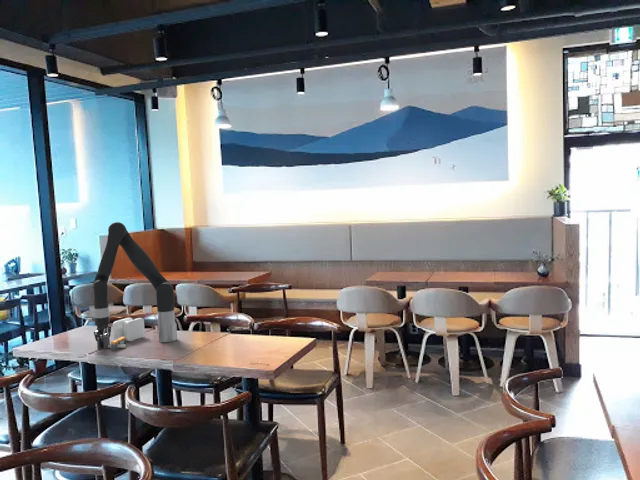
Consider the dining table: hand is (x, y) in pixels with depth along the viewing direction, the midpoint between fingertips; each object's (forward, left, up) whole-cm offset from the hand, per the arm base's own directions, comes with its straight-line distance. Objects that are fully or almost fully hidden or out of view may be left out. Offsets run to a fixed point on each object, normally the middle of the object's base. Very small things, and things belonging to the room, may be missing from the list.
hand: (103, 346), depth 286 cm
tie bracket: (-9, 0, -1) cm, 9 cm away
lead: (-5, 0, -1) cm, 5 cm away
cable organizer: (-5, -19, -1) cm, 20 cm away
